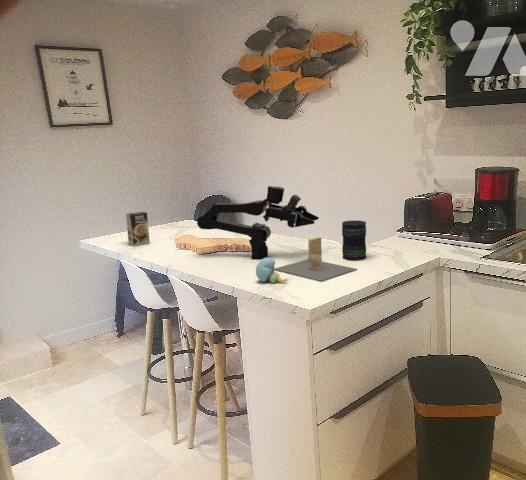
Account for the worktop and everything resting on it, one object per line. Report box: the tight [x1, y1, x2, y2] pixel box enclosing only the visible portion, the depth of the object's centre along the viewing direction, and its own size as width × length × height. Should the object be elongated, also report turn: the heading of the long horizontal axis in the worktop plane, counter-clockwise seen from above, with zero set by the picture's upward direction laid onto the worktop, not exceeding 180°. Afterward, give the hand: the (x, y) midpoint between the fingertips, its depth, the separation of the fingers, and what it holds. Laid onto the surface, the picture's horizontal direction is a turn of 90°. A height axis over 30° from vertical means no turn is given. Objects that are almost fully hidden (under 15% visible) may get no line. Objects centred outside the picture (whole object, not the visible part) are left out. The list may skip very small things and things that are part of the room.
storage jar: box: [341, 219, 367, 262], centre depth 210 cm, size 10×10×15 cm
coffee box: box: [125, 211, 151, 247], centre depth 259 cm, size 9×6×16 cm
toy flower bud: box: [255, 257, 288, 284], centre depth 183 cm, size 7×9×12 cm
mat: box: [275, 258, 358, 283], centre depth 197 cm, size 25×20×1 cm
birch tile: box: [307, 236, 323, 271], centre depth 195 cm, size 2×5×12 cm, turn 131°
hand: (316, 220), depth 210 cm, fingers open, 9 cm apart
